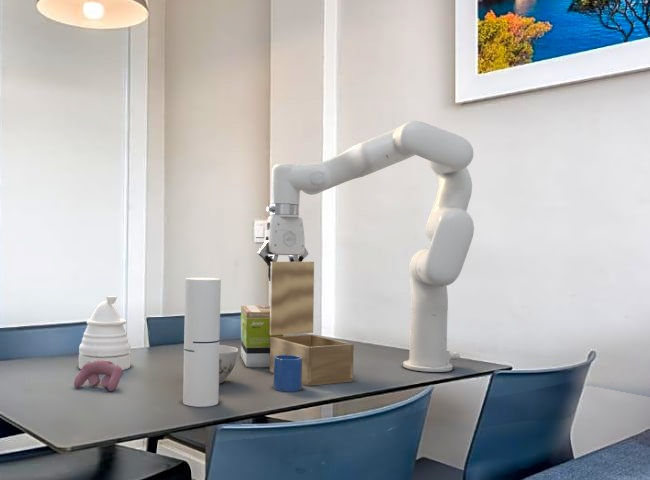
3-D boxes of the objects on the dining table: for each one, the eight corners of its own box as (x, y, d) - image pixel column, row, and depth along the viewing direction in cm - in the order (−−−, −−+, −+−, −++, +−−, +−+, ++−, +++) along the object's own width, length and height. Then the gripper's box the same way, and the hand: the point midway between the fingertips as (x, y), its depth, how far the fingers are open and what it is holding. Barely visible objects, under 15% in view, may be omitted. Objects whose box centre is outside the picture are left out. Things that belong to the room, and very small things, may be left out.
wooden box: (353, 381, 160) (353, 344, 159) (308, 386, 154) (309, 347, 153) (311, 368, 175) (312, 334, 175) (269, 371, 169) (270, 336, 169)
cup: (291, 384, 155) (292, 354, 155) (306, 390, 149) (307, 358, 149) (268, 386, 152) (269, 355, 152) (282, 392, 147) (283, 360, 146)
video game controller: (120, 395, 147) (127, 364, 150) (110, 390, 143) (118, 358, 146) (81, 391, 150) (89, 361, 153) (70, 386, 146) (79, 355, 149)
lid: (314, 261, 174) (303, 261, 179) (272, 261, 169) (262, 261, 173) (313, 332, 175) (302, 330, 179) (271, 335, 169) (261, 332, 173)
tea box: (239, 357, 189) (240, 304, 189) (274, 357, 190) (276, 305, 190) (245, 367, 174) (246, 310, 174) (283, 367, 175) (284, 310, 175)
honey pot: (140, 365, 174) (141, 296, 174) (105, 373, 163) (106, 299, 163) (104, 360, 181) (105, 293, 181) (67, 367, 170) (68, 296, 170)
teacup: (247, 384, 153) (248, 349, 153) (197, 390, 147) (198, 353, 147) (217, 372, 167) (218, 340, 167) (170, 377, 161) (171, 343, 160)
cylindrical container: (213, 407, 132) (215, 280, 132) (178, 405, 134) (180, 279, 133) (222, 399, 139) (224, 278, 139) (188, 397, 141) (191, 277, 140)
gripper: (263, 210, 169) (261, 282, 169) (320, 213, 177) (317, 282, 177) (249, 210, 175) (247, 280, 175) (304, 213, 183) (302, 280, 183)
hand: (282, 280), depth 176 cm, fingers closed on lid, 5 cm apart
